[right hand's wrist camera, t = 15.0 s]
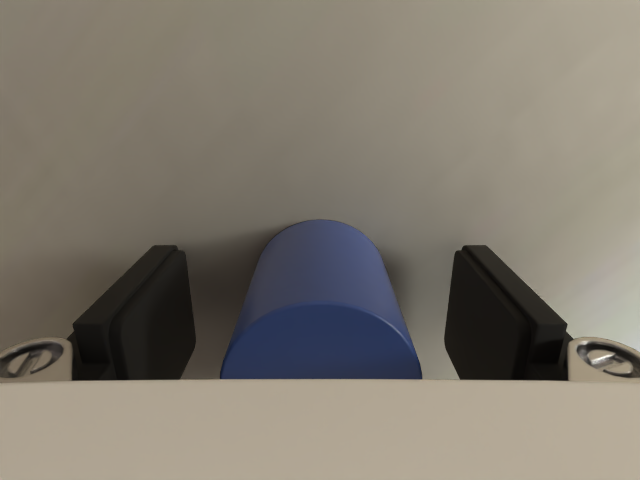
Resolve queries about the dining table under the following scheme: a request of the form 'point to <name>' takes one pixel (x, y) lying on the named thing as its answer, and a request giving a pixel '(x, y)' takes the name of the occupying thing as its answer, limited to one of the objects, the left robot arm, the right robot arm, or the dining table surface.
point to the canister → (320, 311)
